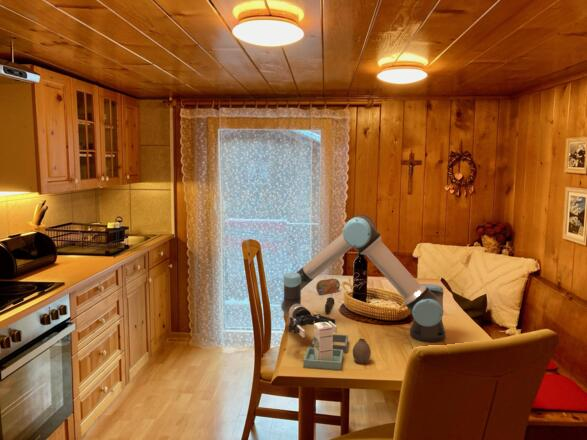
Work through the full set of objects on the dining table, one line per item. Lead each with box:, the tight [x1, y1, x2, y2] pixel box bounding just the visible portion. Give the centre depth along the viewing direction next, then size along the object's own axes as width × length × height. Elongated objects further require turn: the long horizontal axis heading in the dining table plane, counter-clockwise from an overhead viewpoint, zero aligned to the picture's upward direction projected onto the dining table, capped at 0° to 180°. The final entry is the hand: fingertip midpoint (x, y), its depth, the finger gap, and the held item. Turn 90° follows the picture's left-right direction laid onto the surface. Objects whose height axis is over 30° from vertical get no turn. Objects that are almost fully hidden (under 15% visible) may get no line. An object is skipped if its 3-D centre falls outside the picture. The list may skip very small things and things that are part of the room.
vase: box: [352, 338, 372, 364], centre depth 185 cm, size 7×7×9 cm
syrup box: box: [313, 322, 334, 361], centre depth 183 cm, size 6×6×14 cm
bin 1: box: [311, 333, 349, 354], centre depth 200 cm, size 14×12×3 cm
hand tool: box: [324, 297, 335, 315], centre depth 248 cm, size 19×4×5 cm, turn 167°
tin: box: [315, 277, 341, 296], centre depth 277 cm, size 15×3×8 cm, turn 119°
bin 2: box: [302, 347, 344, 371], centre depth 184 cm, size 14×12×3 cm
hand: (320, 331), depth 186 cm, fingers open, 13 cm apart
